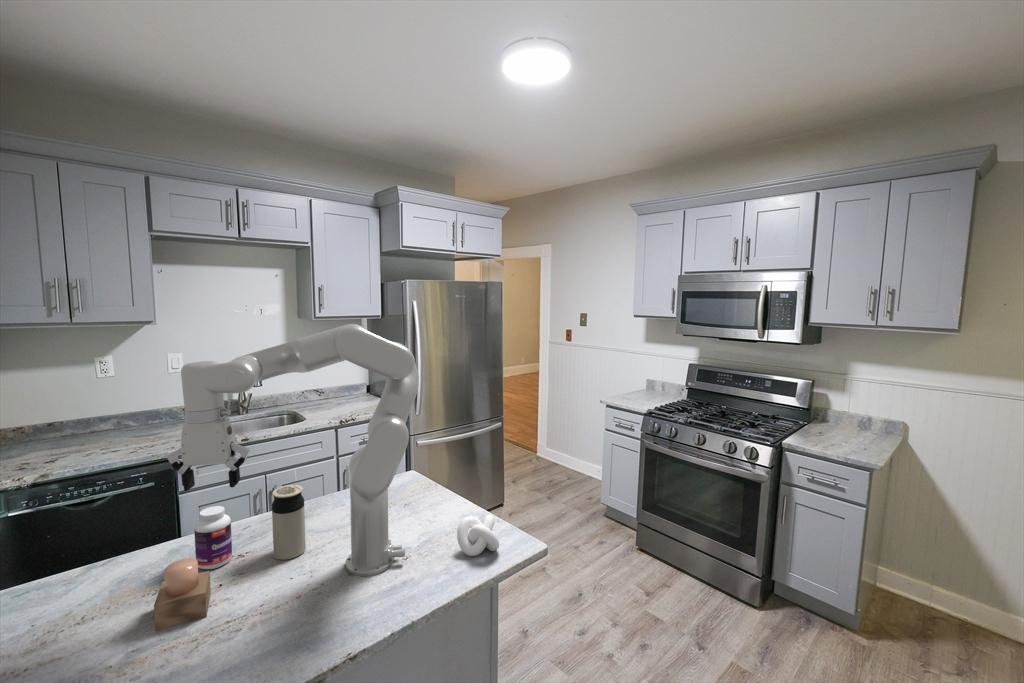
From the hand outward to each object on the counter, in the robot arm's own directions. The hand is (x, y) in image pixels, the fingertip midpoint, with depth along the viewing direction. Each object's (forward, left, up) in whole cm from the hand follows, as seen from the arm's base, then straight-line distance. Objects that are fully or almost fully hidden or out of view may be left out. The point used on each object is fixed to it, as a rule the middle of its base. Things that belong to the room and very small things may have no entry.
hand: (212, 486), depth 105 cm
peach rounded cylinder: (+4, +6, -21) cm, 22 cm away
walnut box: (+4, +6, -27) cm, 28 cm away
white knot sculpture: (-64, -12, -27) cm, 70 cm away
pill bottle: (+7, -13, -27) cm, 31 cm away
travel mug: (-11, -16, -27) cm, 33 cm away
